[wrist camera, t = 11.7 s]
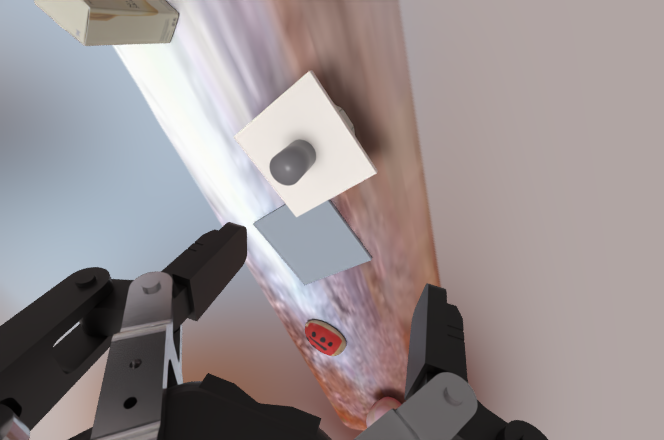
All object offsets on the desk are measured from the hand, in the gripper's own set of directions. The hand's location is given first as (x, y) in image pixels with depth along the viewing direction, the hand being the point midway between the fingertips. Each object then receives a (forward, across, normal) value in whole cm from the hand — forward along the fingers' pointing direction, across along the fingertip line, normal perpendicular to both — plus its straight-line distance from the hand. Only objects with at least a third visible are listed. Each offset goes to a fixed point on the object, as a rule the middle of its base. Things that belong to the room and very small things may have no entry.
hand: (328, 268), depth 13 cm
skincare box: (+30, +34, -6) cm, 46 cm away
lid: (+24, +10, +6) cm, 27 cm away
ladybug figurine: (+30, +3, +46) cm, 56 cm away
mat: (+30, +9, +23) cm, 39 cm away
